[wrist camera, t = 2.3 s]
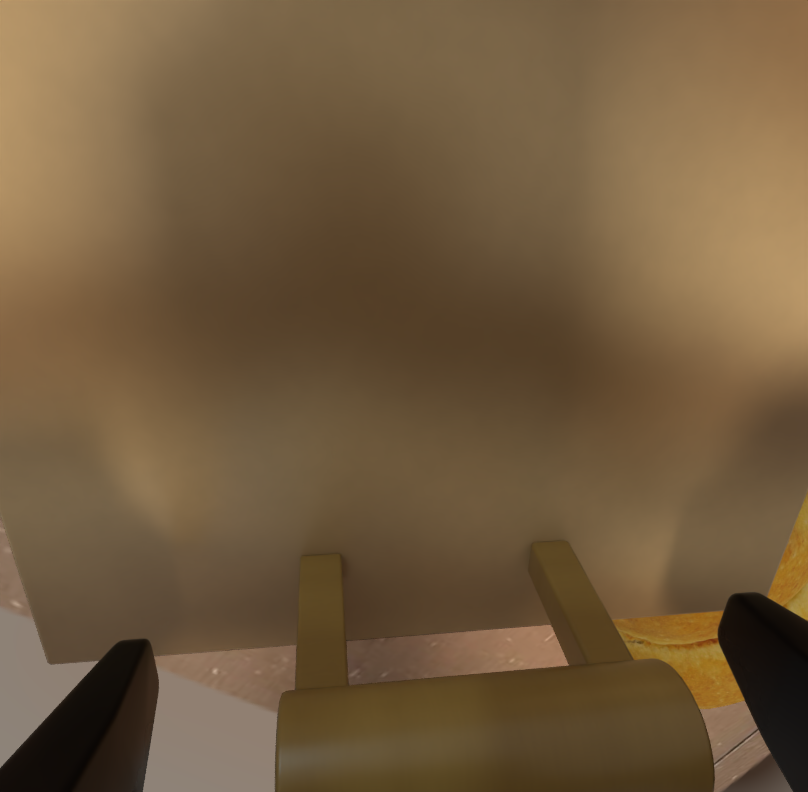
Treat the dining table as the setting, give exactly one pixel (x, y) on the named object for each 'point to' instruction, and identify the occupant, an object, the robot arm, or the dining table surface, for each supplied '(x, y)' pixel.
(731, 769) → the dining table surface
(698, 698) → the bread roll
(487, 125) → the box door
